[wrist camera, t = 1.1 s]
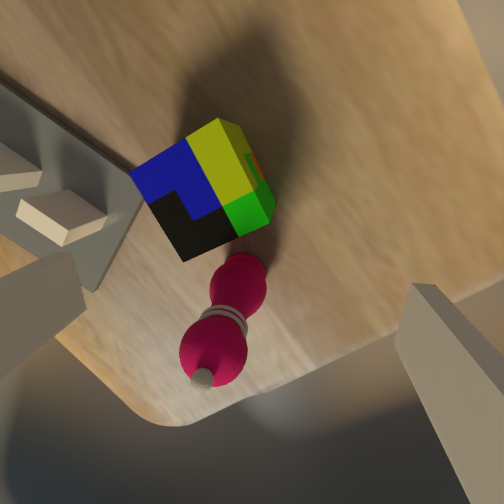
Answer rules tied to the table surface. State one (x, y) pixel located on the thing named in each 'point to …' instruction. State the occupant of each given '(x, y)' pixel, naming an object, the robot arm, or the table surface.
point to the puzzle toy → (206, 189)
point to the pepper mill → (224, 324)
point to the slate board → (65, 185)
